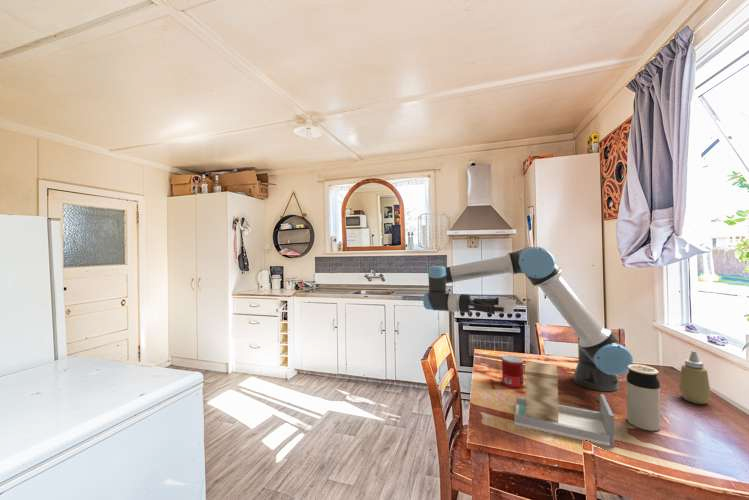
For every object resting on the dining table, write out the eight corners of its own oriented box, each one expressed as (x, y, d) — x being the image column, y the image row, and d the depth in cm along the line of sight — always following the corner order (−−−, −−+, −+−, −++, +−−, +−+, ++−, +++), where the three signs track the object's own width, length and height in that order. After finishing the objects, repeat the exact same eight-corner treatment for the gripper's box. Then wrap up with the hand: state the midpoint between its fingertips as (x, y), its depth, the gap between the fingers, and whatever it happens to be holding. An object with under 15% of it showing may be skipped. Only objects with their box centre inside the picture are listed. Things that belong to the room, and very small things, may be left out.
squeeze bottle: (703, 397, 115) (702, 349, 114) (716, 408, 107) (715, 356, 107) (674, 393, 118) (674, 346, 118) (685, 403, 111) (684, 353, 111)
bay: (604, 422, 100) (604, 394, 100) (614, 447, 88) (613, 415, 88) (516, 404, 112) (516, 380, 112) (514, 424, 100) (513, 397, 100)
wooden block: (557, 412, 104) (556, 365, 104) (559, 427, 96) (558, 376, 96) (526, 406, 109) (525, 361, 108) (525, 419, 100) (524, 371, 100)
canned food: (525, 389, 124) (525, 362, 124) (504, 388, 126) (504, 361, 125) (520, 381, 131) (520, 355, 131) (500, 380, 133) (500, 354, 133)
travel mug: (663, 434, 93) (662, 375, 93) (629, 427, 97) (628, 370, 97) (656, 421, 100) (656, 366, 100) (625, 415, 104) (624, 362, 104)
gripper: (465, 306, 142) (516, 310, 132) (453, 318, 120) (512, 323, 110) (465, 290, 142) (516, 292, 132) (452, 298, 120) (512, 302, 110)
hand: (514, 306), depth 121 cm, fingers open, 13 cm apart
